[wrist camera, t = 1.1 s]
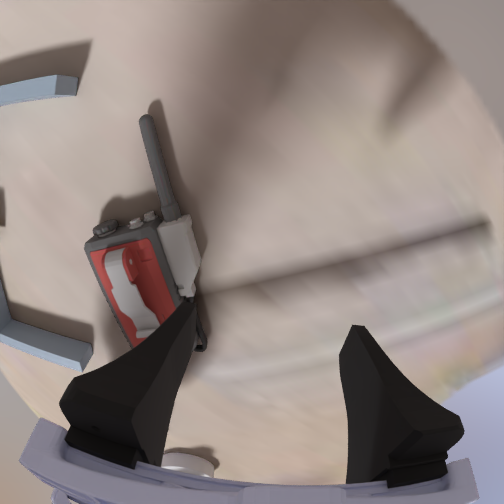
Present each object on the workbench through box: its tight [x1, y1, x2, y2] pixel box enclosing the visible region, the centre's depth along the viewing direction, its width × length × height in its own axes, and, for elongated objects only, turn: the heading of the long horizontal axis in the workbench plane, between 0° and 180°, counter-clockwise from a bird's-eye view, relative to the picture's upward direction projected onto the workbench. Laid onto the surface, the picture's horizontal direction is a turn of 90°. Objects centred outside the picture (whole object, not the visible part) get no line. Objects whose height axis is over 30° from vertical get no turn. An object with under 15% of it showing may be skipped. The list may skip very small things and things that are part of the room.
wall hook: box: [161, 453, 214, 478], centre depth 34 cm, size 9×10×10 cm
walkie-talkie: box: [84, 114, 207, 352], centre depth 22 cm, size 9×4×20 cm
